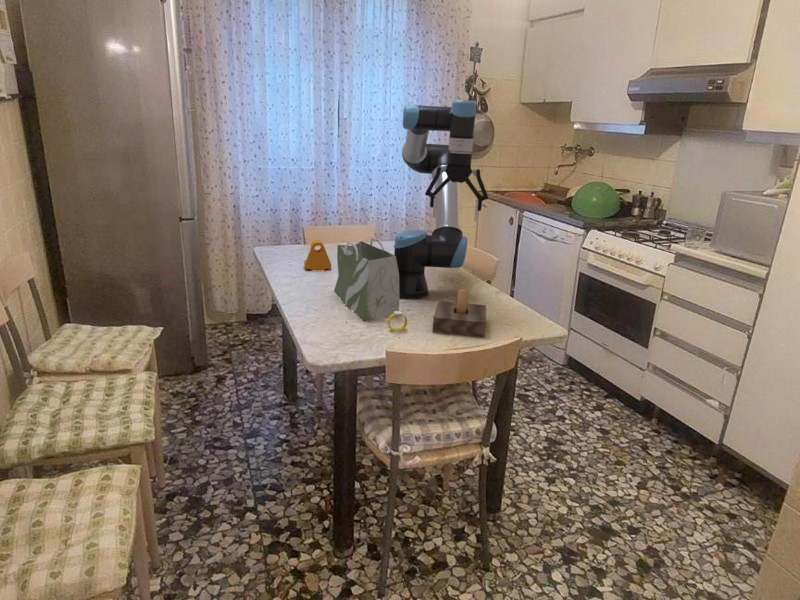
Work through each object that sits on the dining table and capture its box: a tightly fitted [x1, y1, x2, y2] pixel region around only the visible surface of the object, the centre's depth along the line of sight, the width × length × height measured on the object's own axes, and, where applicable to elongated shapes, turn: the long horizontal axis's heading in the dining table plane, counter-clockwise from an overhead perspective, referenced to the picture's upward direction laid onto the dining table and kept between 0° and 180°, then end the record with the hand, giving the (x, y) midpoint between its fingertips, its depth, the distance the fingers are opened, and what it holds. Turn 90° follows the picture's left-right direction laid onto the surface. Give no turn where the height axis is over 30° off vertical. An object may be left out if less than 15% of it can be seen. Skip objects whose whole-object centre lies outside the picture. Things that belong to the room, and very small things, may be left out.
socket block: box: [431, 300, 487, 338], centre depth 169 cm, size 16×16×5 cm
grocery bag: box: [333, 237, 401, 323], centre depth 182 cm, size 32×14×23 cm, turn 25°
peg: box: [456, 288, 469, 314], centre depth 168 cm, size 3×3×12 cm
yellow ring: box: [387, 310, 408, 332], centre depth 164 cm, size 6×3×6 cm, turn 105°
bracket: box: [303, 239, 332, 271], centre depth 223 cm, size 11×7×12 cm, turn 104°
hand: (454, 219), depth 174 cm, fingers open, 13 cm apart
